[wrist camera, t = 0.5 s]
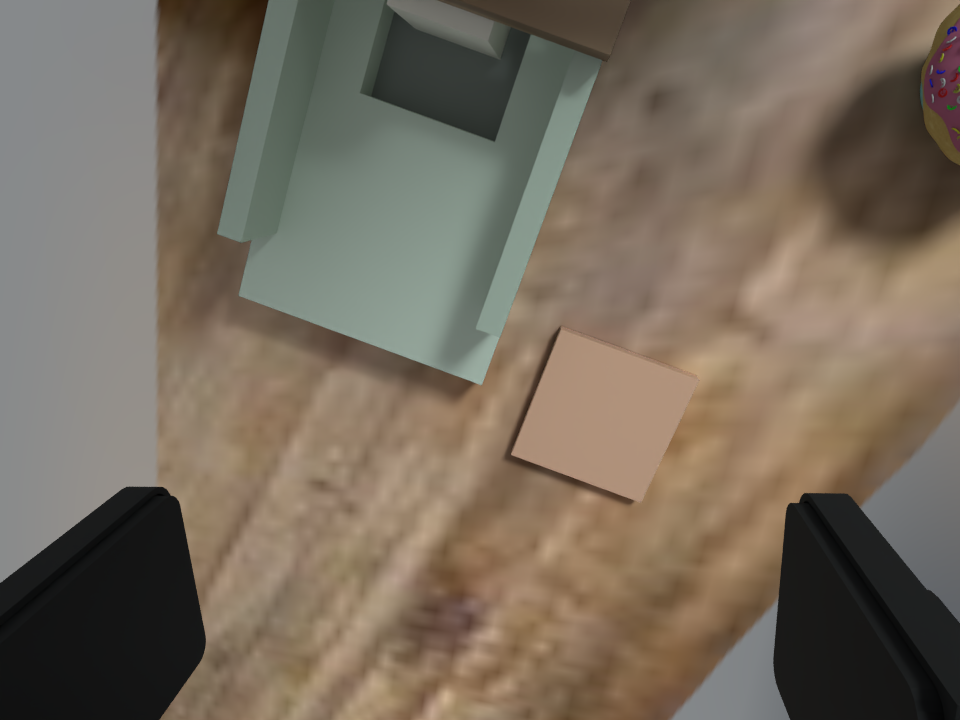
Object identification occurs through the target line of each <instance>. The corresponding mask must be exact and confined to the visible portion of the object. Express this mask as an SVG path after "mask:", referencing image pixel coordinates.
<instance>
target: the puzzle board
mask: <svg viewBox="0 0 960 720" xmlns="http://www.w3.org/2000/svg"><path fill="white" fill-rule="evenodd" d="M601 63H602V60H600V59H598V58H595V57H592V56H589V55H586V54H584V53H581V52H578V51H575V50H573V49H570V48H567V47H564V46H562V45H559V44H556V43H553V42H551V41H548V40H545V39H542V38H540V37H537V36H534V35H531V34H529V33H526V32H523V31H520V30H518V29H515V28H512V27H511V28H510V31H509V34H508V37H507V40H506V43H505V46H504V49H503V53H502V56H501V59H500V60H499V59H497V58H494V57H491V56H488V55H486V54H483V53H480V52H477V51H475V50H472V49H469V48H466V47H464V46H461V45H458V44H455V43H453V42H450V41H447V40H444V39H442V38H439V37H436V36H433V35H431V34H428V33H425V32H422V31H420V30H417V29H415V28H414V27H413V26H411V25H410V24H409V23H408V22H407V21H405V20H404V19H403V18H402V17H401V16H400V15H398V14H397V13H396V12H395V11H394V10H393V9H391V8H390V7H389V6H388V5H387V0H269V2H268V6H267V11H266V15H265V20H264V24H263V29H262V33H261V38H260V42H259V47H258V51H257V56H256V60H255V65H254V69H253V74H252V79H251V83H250V88H249V92H248V97H247V101H246V106H245V110H244V115H243V119H242V124H241V128H240V133H239V137H238V142H237V146H236V151H235V155H234V160H233V164H232V169H231V173H230V178H229V182H228V187H227V191H226V196H225V201H224V205H223V210H222V214H221V219H220V223H219V228H218V232H217V234H219V235H221V236H224V237H227V238H229V239H232V240H235V241H238V242H240V243H242V242H246V241H250V240H252V241H251V245H250V249H249V253H248V258H247V262H246V266H245V270H244V274H243V279H242V283H241V287H240V291H239V295H238V296H240V297H243V298H246V299H249V300H251V301H254V302H257V303H259V304H262V305H265V306H268V307H270V308H273V309H276V310H278V311H281V312H284V313H287V314H289V315H292V316H295V317H297V318H300V319H303V320H306V321H308V322H311V323H314V324H317V325H319V326H322V327H325V328H327V329H330V330H333V331H336V332H338V333H341V334H344V335H346V336H349V337H352V338H355V339H357V340H360V341H363V342H365V343H368V344H371V345H374V346H376V347H379V348H382V349H384V350H387V351H390V352H393V353H395V354H398V355H401V356H404V357H406V358H409V359H412V360H414V361H417V362H420V363H423V364H425V365H428V366H431V367H433V368H436V369H439V370H442V371H444V372H447V373H450V374H452V375H455V376H458V377H461V378H463V379H466V380H469V381H471V382H474V383H477V384H480V385H482V383H483V380H484V378H485V375H486V372H487V370H488V367H489V364H490V361H491V359H492V356H493V353H494V351H495V348H496V345H497V342H498V340H499V338H500V336H501V333H502V331H503V328H504V325H505V323H506V320H507V317H508V314H509V312H510V309H511V306H512V304H513V301H514V298H515V296H516V293H517V290H518V287H519V285H520V282H521V279H522V277H523V274H524V271H525V268H526V266H527V263H528V260H529V258H530V255H531V252H532V250H533V247H534V244H535V241H536V239H537V236H538V233H539V231H540V228H541V225H542V223H543V220H544V217H545V214H546V212H547V209H548V206H549V204H550V201H551V198H552V196H553V193H554V190H555V187H556V185H557V182H558V179H559V177H560V174H561V171H562V168H563V166H564V163H565V160H566V158H567V155H568V152H569V150H570V147H571V144H572V141H573V139H574V136H575V133H576V131H577V128H578V125H579V123H580V120H581V117H582V114H583V112H584V109H585V106H586V104H587V101H588V98H589V96H590V93H591V90H592V87H593V85H594V82H595V79H596V77H597V74H598V71H599V68H600V66H601Z"/></svg>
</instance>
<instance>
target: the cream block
mask: <svg viewBox="0 0 960 720" xmlns="http://www.w3.org/2000/svg"><path fill="white" fill-rule="evenodd" d="M387 5H388V6H389V7H390V8H391V9H393V10H394V11H395V12H396V13H397V14H398V15H400V16H401V17H402V18H403V19H404V20H405V21H407V22H408V23H409V24H410V25H411V26H413V27H414V28H415V29H417V30H420V31H422V32H425V33H428V34H431V35H433V36H436V37H439V38H442V39H444V40H447V41H450V42H453V43H455V44H458V45H461V46H464V47H466V48H469V49H472V50H475V51H477V52H480V53H483V54H486V55H488V56H491V57H494V58H497V59H499V60H500V59H501V56H502V53H503V49H504V46H505V43H506V40H507V37H508V34H509V31H510V28H511V27H509V26H507V25H504V24H501V23H498V22H496V21H493V20H490V19H487V18H485V17H482V16H479V15H476V14H473V13H471V12H468V11H465V10H462V9H460V8H457V7H454V6H451V5H449V4H446V3H443V2H440V1H438V0H387Z"/></svg>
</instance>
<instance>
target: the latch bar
mask: <svg viewBox="0 0 960 720" xmlns="http://www.w3.org/2000/svg"><path fill="white" fill-rule="evenodd" d="M438 1H440V2H443V3H446V4H449V5H451V6H454V7H457V8H460V9H462V10H465V11H468V12H471V13H473V14H476V15H479V16H482V17H485V18H487V19H490V20H493V21H496V22H498V23H501V24H504V25H507V26H509V27H512V28H515V29H518V30H520V31H523V32H526V33H529V34H531V35H534V36H537V37H540V38H542V39H545V40H548V41H551V42H553V43H556V44H559V45H562V46H564V47H567V48H570V49H573V50H575V51H578V52H581V53H584V54H586V55H589V56H592V57H595V58H598V59H600V60H603V61H606V62H607V61H608V59H609V57H610V55H611V52H612V50H613V47H614V44H615V42H616V39H617V36H618V34H619V31H620V28H621V26H622V23H623V20H624V18H625V15H626V12H627V9H628V7H629V4H630V1H631V0H438Z"/></svg>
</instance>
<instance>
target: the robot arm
mask: <svg viewBox="0 0 960 720" xmlns="http://www.w3.org/2000/svg"><path fill="white" fill-rule="evenodd" d="M205 644H206V637H205V631H204V626H203V621H202V616H201V610H200V605H199V600H198V595H197V590H196V585H195V580H194V574H193V569H192V564H191V559H190V554H189V549H188V544H187V538H186V533H185V528H184V523H183V518H182V513H181V508H180V504H179V501H178V500H177V498H176V497H174V496H170V493H169V492H168V491H167V489H165V488H163V487H126V488H124V489H122V490H120V491H119V492H118V493H117V494H115V495H114V496H113V497H111V498H110V499H109V500H107V501H106V502H105V503H104V504H102V505H101V506H100V507H98V508H97V509H96V510H94V511H93V512H92V513H91V514H89V515H88V516H87V517H85V518H84V519H83V520H81V521H80V522H79V523H78V524H76V525H75V526H74V527H72V528H71V529H70V530H69V531H67V532H66V533H65V534H63V535H62V536H61V537H59V539H57V540H56V541H54V542H53V543H52V544H50V545H49V546H48V547H47V548H45V549H44V550H43V551H41V552H40V553H39V554H37V555H36V556H35V557H34V558H32V559H31V560H30V561H28V562H27V563H26V564H25V565H23V566H22V567H21V568H19V569H18V570H17V571H15V572H14V573H13V574H12V575H10V576H9V577H8V578H6V579H5V580H4V581H3V582H1V583H0V720H159V719H160V718H161V716H162V715H163V714H164V712H165V711H166V709H167V708H168V707H169V705H170V704H171V702H172V701H173V700H174V698H175V697H176V695H177V694H178V693H179V691H180V690H181V688H182V687H183V685H184V684H185V683H186V681H187V680H188V678H189V677H190V676H191V674H192V673H193V671H194V670H195V669H196V667H197V666H198V664H199V663H200V661H201V659H202V657H203V654H204V651H205ZM773 664H774V674H775V679H776V684H777V687H778V690H779V692H780V695H781V697H782V700H783V702H784V705H785V707H786V710H787V713H788V715H789V718H790V720H960V623H959V622H958V621H957V619H956V618H955V617H954V616H953V615H952V614H951V612H950V611H949V610H948V609H947V607H946V606H945V605H944V604H943V603H942V601H941V600H940V599H939V598H938V597H937V596H936V595H935V594H934V593H932V591H930V590H927V589H926V588H925V587H924V586H923V585H922V584H921V582H920V581H919V580H918V578H917V577H916V576H915V575H914V574H913V572H912V571H911V570H910V569H909V568H908V566H907V565H906V564H905V563H904V562H903V560H902V559H901V558H900V557H899V555H898V554H897V553H896V552H895V551H894V549H893V548H892V547H891V546H890V544H889V543H888V542H887V541H886V539H885V538H884V537H883V536H882V534H881V533H880V532H879V531H878V530H877V529H876V527H875V526H874V525H873V523H871V521H870V520H869V519H868V517H867V516H866V515H865V514H864V512H863V511H862V510H861V509H860V508H859V506H858V505H857V504H856V503H855V501H854V500H853V499H852V498H851V497H850V496H849V495H848V494H830V493H804V494H803V495H802V496H801V499H800V502H799V503H790V504H789V505H788V507H787V510H786V519H785V530H784V542H783V554H782V565H781V577H780V588H779V600H778V612H777V624H776V635H775V648H774V662H773Z"/></svg>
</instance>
